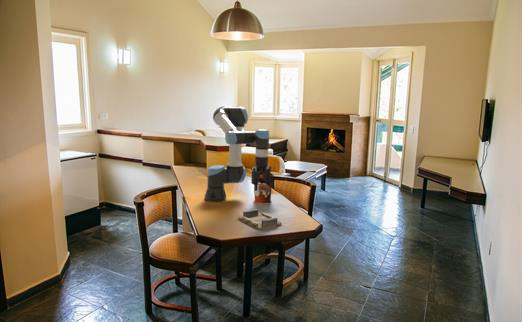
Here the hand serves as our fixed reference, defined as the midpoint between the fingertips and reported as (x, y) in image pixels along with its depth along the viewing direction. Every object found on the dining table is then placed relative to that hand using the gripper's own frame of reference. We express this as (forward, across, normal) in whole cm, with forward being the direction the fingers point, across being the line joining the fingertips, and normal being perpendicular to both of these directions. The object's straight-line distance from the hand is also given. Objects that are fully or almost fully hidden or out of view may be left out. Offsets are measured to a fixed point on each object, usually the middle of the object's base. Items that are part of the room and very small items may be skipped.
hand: (260, 194), depth 214 cm
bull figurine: (+1, 0, 0) cm, 1 cm away
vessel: (+15, +25, +28) cm, 41 cm away
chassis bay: (+15, -2, -3) cm, 16 cm away
